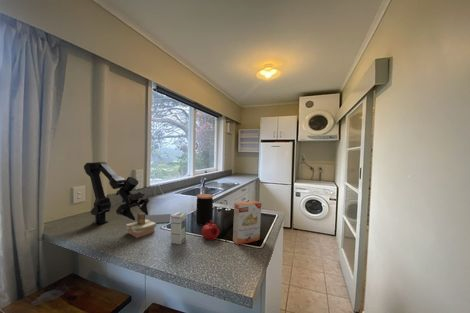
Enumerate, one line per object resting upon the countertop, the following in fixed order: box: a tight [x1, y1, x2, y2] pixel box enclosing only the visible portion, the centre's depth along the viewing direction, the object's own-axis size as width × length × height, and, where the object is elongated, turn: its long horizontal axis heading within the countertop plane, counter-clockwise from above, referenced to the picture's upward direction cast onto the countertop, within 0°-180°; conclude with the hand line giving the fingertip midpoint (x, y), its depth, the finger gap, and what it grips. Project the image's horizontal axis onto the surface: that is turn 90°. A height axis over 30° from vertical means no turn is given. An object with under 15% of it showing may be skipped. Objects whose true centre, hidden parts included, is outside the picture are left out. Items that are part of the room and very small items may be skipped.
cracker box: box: [232, 200, 262, 246], centre depth 106 cm, size 14×6×21 cm, turn 117°
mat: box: [145, 213, 172, 225], centre depth 134 cm, size 16×16×1 cm
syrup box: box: [170, 211, 187, 245], centre depth 103 cm, size 6×6×14 cm
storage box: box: [127, 227, 155, 239], centre depth 113 cm, size 10×10×4 cm
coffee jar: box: [195, 193, 214, 226], centre depth 131 cm, size 11×11×18 cm
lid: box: [125, 211, 157, 233], centre depth 112 cm, size 11×11×8 cm
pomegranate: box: [201, 220, 220, 241], centre depth 109 cm, size 10×10×9 cm
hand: (141, 217), depth 112 cm, fingers open, 9 cm apart
